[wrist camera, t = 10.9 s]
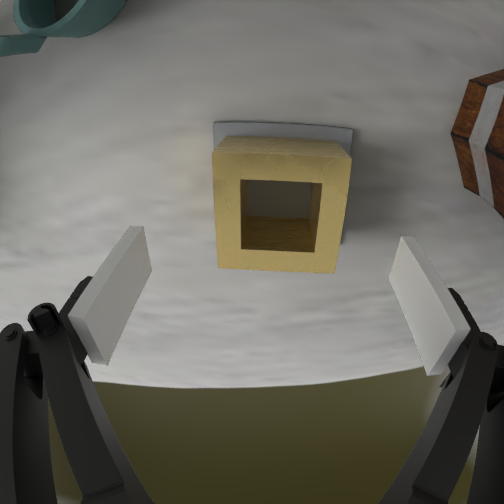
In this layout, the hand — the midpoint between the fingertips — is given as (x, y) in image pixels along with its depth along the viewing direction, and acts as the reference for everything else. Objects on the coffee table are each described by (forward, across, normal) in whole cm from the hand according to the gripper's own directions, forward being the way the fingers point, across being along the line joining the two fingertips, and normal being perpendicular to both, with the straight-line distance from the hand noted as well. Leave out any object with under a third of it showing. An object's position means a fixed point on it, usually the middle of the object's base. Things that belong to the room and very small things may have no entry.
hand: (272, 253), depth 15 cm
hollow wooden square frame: (+9, +1, 0) cm, 9 cm away
